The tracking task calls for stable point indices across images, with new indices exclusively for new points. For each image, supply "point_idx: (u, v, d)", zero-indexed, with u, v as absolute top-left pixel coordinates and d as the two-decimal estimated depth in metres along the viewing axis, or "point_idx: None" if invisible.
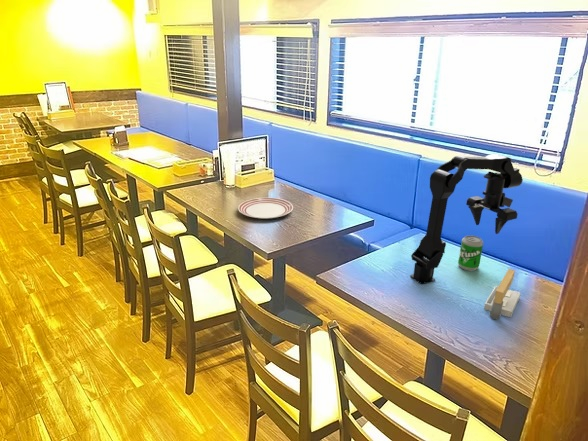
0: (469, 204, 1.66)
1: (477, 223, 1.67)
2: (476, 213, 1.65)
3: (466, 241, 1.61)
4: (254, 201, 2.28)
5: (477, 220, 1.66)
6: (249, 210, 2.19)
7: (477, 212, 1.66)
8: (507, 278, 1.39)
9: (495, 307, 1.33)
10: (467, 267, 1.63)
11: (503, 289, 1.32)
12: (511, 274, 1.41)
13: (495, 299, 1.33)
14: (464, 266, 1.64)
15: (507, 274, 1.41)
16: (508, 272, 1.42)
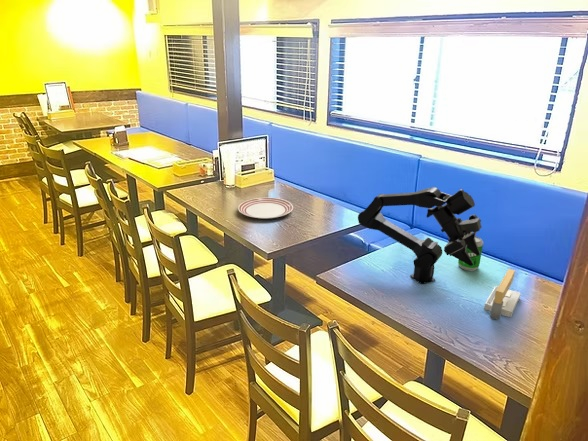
0: None
1: (476, 253, 1.49)
2: (467, 244, 1.50)
3: None
4: (254, 201, 2.28)
5: (473, 250, 1.49)
6: (249, 210, 2.19)
7: (467, 243, 1.50)
8: (507, 278, 1.39)
9: (495, 307, 1.33)
10: (467, 267, 1.63)
11: (503, 289, 1.32)
12: (511, 274, 1.41)
13: (495, 299, 1.33)
14: (464, 266, 1.64)
15: (507, 274, 1.41)
16: (508, 272, 1.42)
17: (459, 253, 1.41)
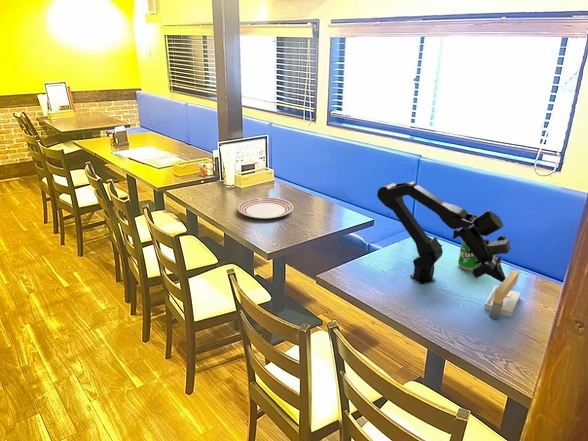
0: None
1: (502, 280, 1.41)
2: None
3: None
4: (254, 201, 2.28)
5: None
6: (249, 210, 2.19)
7: None
8: (509, 279, 1.38)
9: (495, 307, 1.33)
10: (467, 267, 1.63)
11: (503, 289, 1.32)
12: (514, 275, 1.41)
13: (495, 299, 1.33)
14: (464, 266, 1.64)
15: (510, 275, 1.41)
16: (511, 273, 1.42)
17: (491, 270, 1.41)
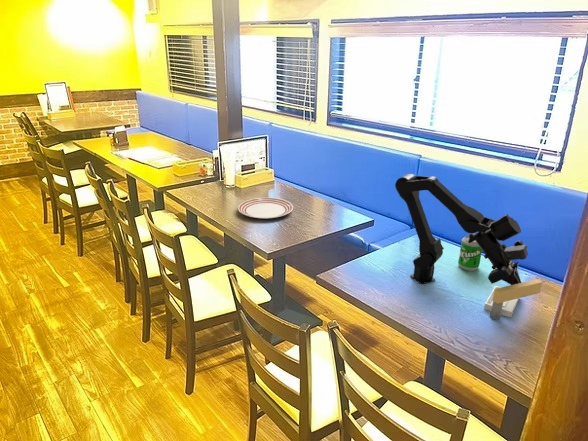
0: None
1: None
2: None
3: (466, 241, 1.61)
4: (254, 201, 2.28)
5: None
6: (249, 210, 2.19)
7: None
8: (522, 284, 1.35)
9: (493, 306, 1.34)
10: (467, 267, 1.63)
11: (504, 290, 1.32)
12: (532, 283, 1.36)
13: (493, 297, 1.33)
14: (464, 266, 1.64)
15: (527, 282, 1.36)
16: (531, 281, 1.37)
17: (507, 276, 1.38)
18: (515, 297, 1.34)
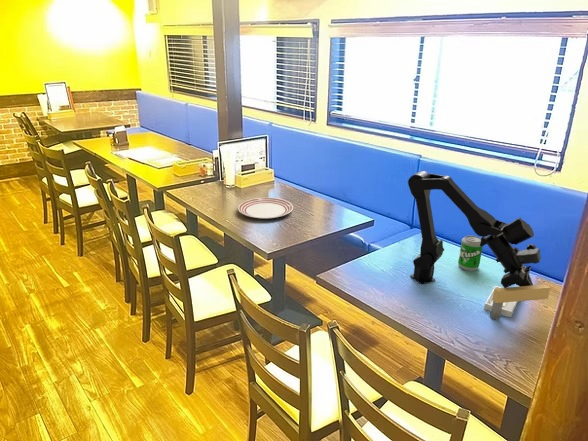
0: None
1: None
2: None
3: (466, 241, 1.61)
4: (254, 201, 2.28)
5: None
6: (249, 210, 2.19)
7: None
8: (527, 287, 1.33)
9: (492, 306, 1.34)
10: (467, 267, 1.63)
11: (504, 290, 1.32)
12: (538, 287, 1.33)
13: (493, 297, 1.34)
14: (464, 266, 1.64)
15: (534, 286, 1.34)
16: (539, 285, 1.35)
17: None
18: (517, 299, 1.33)
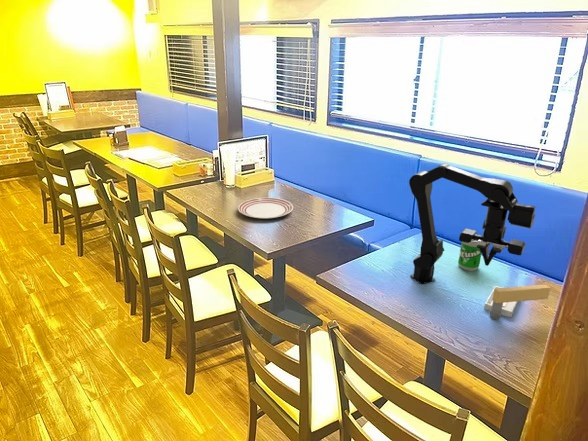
0: (465, 240, 1.41)
1: None
2: (486, 252, 1.40)
3: None
4: (254, 201, 2.28)
5: (487, 260, 1.41)
6: (249, 210, 2.19)
7: (487, 251, 1.40)
8: (527, 287, 1.33)
9: (492, 306, 1.34)
10: (467, 267, 1.63)
11: (504, 290, 1.32)
12: (538, 287, 1.33)
13: (493, 297, 1.34)
14: (464, 266, 1.64)
15: (534, 286, 1.34)
16: (539, 285, 1.34)
17: None
18: (517, 299, 1.33)
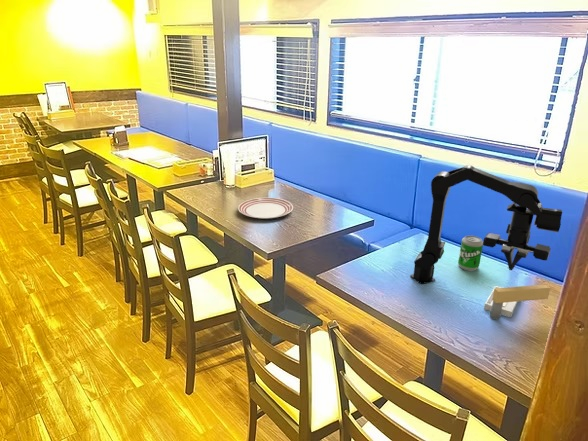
0: (489, 245, 1.41)
1: None
2: (511, 257, 1.39)
3: (466, 241, 1.61)
4: (254, 201, 2.28)
5: (511, 264, 1.41)
6: (249, 210, 2.19)
7: (511, 255, 1.40)
8: (527, 287, 1.33)
9: (492, 306, 1.34)
10: (467, 267, 1.63)
11: (504, 290, 1.32)
12: (538, 287, 1.33)
13: (493, 297, 1.34)
14: (464, 266, 1.64)
15: (534, 286, 1.34)
16: (539, 285, 1.34)
17: None
18: (517, 299, 1.33)
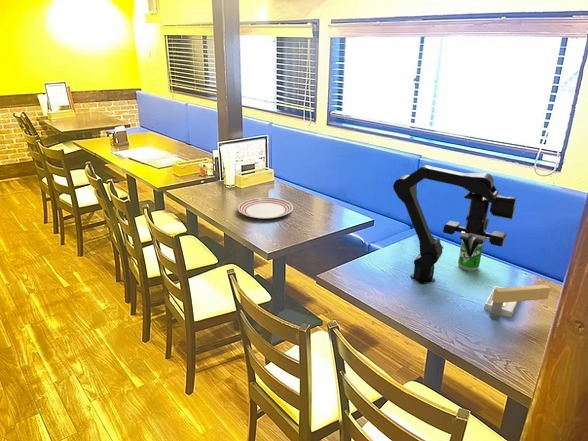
0: (448, 232, 1.45)
1: None
2: (469, 243, 1.44)
3: None
4: (254, 201, 2.28)
5: None
6: (249, 210, 2.19)
7: (470, 242, 1.44)
8: (527, 287, 1.33)
9: (492, 306, 1.34)
10: (467, 267, 1.63)
11: (504, 290, 1.32)
12: (538, 287, 1.33)
13: (493, 297, 1.34)
14: (464, 266, 1.64)
15: (534, 286, 1.34)
16: (539, 285, 1.34)
17: None
18: (517, 299, 1.33)
